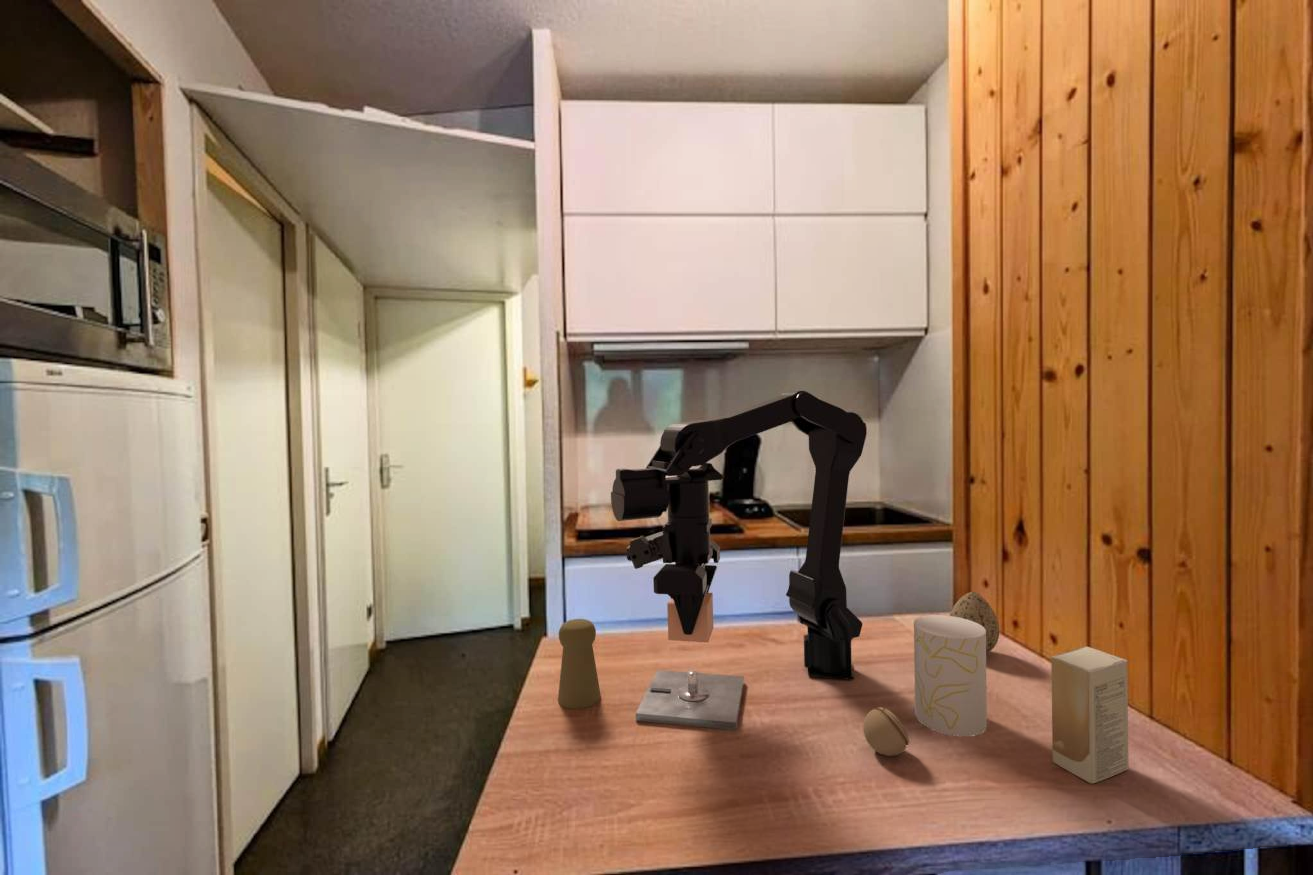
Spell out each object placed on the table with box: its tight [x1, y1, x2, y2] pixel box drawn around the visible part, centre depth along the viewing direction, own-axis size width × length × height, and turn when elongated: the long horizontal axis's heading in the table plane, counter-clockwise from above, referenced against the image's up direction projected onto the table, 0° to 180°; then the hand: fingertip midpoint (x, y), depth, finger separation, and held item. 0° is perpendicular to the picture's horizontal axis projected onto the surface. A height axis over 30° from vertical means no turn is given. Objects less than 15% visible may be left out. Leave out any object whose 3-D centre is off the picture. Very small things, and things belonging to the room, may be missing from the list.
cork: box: [557, 618, 602, 710], centre depth 81 cm, size 6×6×11 cm
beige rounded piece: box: [862, 707, 910, 757], centre depth 67 cm, size 5×5×5 cm
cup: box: [913, 614, 988, 737], centre depth 73 cm, size 8×8×12 cm
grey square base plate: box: [635, 669, 745, 731], centre depth 80 cm, size 13×13×4 cm
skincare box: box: [1050, 646, 1130, 784], centre depth 63 cm, size 6×4×12 cm
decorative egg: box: [949, 591, 1000, 654], centre depth 93 cm, size 7×7×10 cm
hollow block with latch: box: [666, 592, 714, 643], centre depth 79 cm, size 5×5×5 cm
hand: (691, 626), depth 80 cm, fingers closed on hollow block with latch, 5 cm apart
